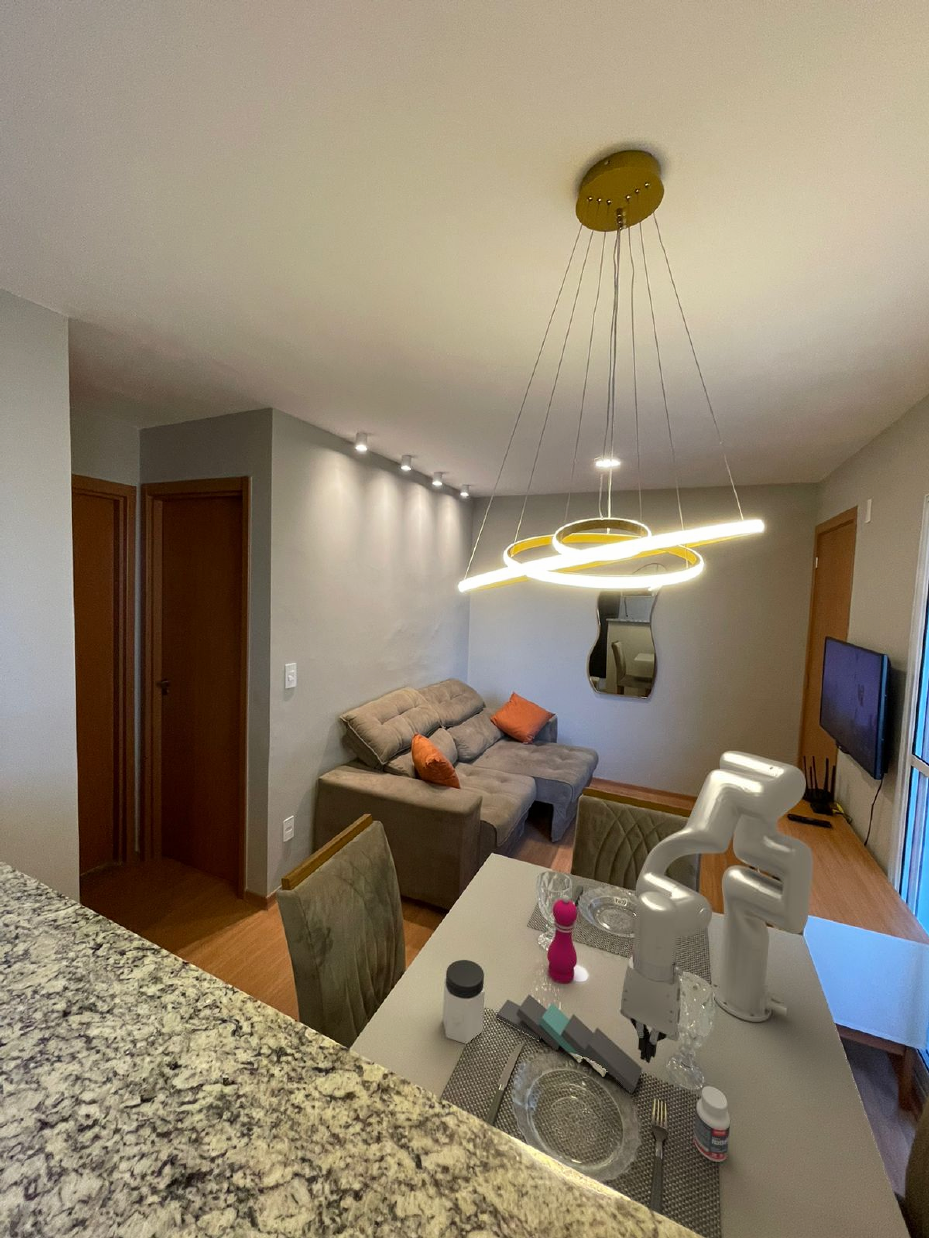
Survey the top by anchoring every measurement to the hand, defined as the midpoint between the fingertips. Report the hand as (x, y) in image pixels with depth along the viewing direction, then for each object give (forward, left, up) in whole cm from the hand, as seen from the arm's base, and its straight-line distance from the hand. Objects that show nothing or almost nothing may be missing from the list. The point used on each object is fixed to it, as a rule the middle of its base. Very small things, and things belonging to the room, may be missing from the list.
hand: (646, 1055), depth 98 cm
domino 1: (+21, 0, -6) cm, 22 cm away
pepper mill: (+25, -19, -7) cm, 32 cm away
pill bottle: (-12, +4, -7) cm, 14 cm away
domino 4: (+7, 0, -6) cm, 9 cm away
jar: (+36, +9, -7) cm, 38 cm away
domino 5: (+1, 0, -6) cm, 6 cm away
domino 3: (+12, 0, -6) cm, 13 cm away
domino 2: (+17, 0, -6) cm, 18 cm away
